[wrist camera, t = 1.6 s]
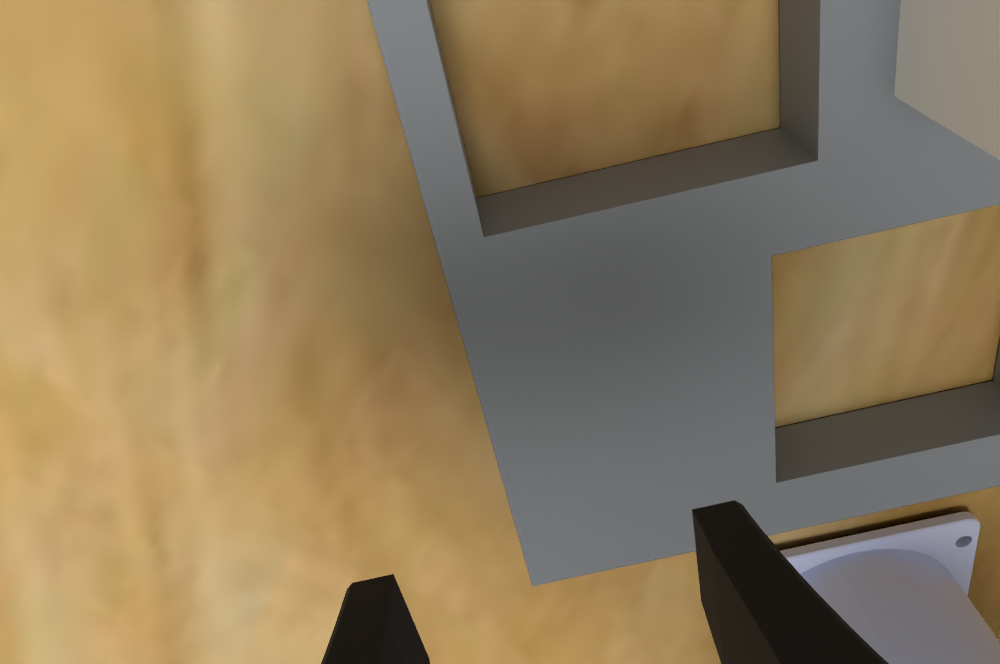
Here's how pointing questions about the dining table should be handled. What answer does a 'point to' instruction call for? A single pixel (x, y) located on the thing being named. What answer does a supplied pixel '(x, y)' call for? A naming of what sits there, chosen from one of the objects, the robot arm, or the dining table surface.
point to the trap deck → (691, 304)
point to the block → (952, 66)
